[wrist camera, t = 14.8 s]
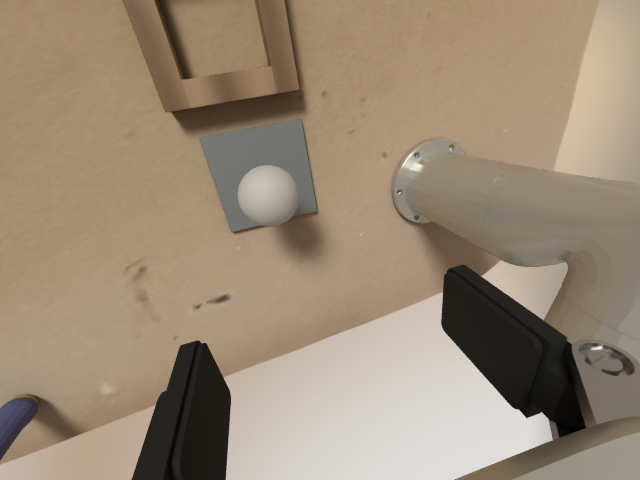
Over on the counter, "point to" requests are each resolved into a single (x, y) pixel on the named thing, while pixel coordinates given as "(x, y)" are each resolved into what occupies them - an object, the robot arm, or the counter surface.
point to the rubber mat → (258, 164)
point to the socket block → (221, 86)
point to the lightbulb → (268, 195)
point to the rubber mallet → (15, 419)
